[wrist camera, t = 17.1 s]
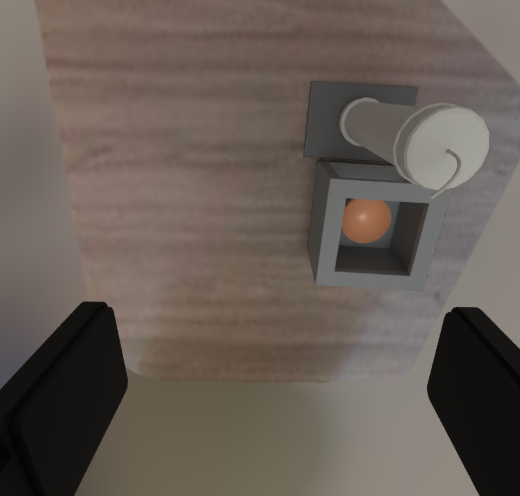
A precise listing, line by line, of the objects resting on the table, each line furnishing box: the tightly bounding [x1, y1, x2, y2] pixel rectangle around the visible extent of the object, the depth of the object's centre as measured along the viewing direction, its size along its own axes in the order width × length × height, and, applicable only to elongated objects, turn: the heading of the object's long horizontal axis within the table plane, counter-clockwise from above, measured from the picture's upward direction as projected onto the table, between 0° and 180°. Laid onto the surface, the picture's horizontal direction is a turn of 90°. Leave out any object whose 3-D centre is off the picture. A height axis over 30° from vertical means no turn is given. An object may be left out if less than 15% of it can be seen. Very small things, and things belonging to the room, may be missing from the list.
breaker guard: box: [307, 160, 453, 292], centre depth 44 cm, size 13×13×11 cm
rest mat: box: [304, 81, 418, 162], centre depth 44 cm, size 9×13×1 cm
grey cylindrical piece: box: [339, 97, 489, 200], centre depth 30 cm, size 6×6×30 cm
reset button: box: [341, 199, 391, 243], centre depth 46 cm, size 6×6×3 cm
